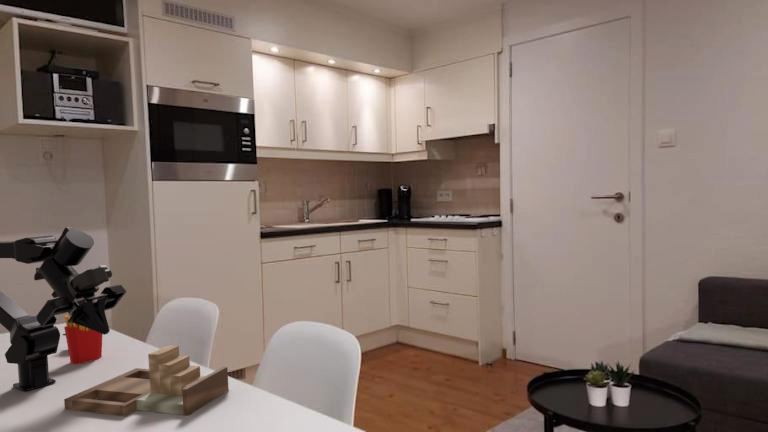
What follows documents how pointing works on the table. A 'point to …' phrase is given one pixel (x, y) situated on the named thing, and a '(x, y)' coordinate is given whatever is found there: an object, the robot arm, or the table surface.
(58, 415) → the table surface
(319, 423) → the table surface
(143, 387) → the brown wooden flat frame
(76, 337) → the french fries
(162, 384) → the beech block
